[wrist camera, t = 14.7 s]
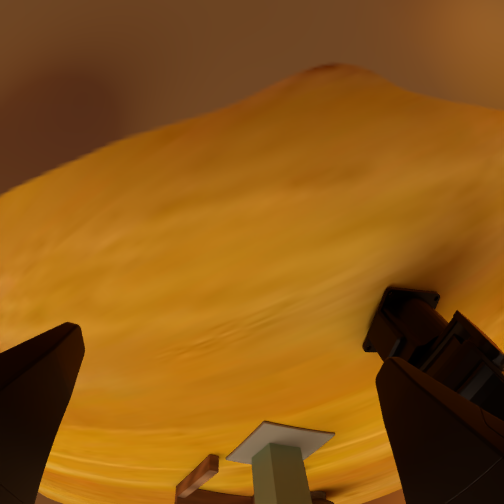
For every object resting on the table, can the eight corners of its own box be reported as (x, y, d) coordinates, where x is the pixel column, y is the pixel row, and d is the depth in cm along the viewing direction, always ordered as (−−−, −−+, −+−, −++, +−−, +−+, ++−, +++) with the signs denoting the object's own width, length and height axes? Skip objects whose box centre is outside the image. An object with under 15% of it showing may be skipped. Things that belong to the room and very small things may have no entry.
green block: (269, 442, 28) (278, 514, 19) (300, 447, 29) (314, 513, 20) (251, 458, 29) (256, 523, 20) (281, 462, 30) (290, 524, 21)
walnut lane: (209, 454, 29) (208, 486, 25) (303, 468, 32) (308, 495, 28) (176, 486, 33) (174, 510, 29) (254, 499, 37) (255, 521, 32)
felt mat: (264, 420, 27) (264, 423, 27) (334, 433, 29) (335, 434, 29) (225, 457, 30) (225, 459, 29) (290, 467, 32) (290, 469, 32)
